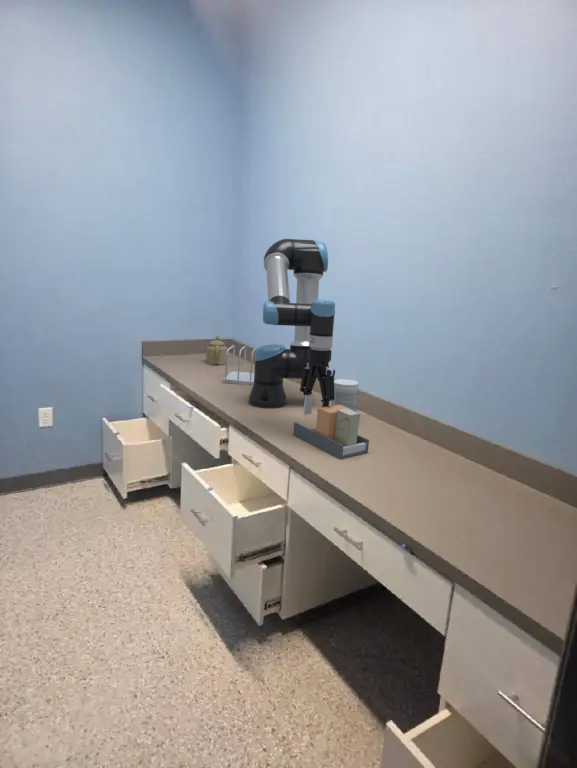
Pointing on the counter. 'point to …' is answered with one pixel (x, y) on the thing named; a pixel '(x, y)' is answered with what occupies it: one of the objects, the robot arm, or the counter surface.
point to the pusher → (327, 420)
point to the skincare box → (346, 427)
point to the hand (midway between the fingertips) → (315, 416)
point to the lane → (331, 443)
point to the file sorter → (238, 376)
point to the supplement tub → (345, 393)
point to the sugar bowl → (216, 352)
